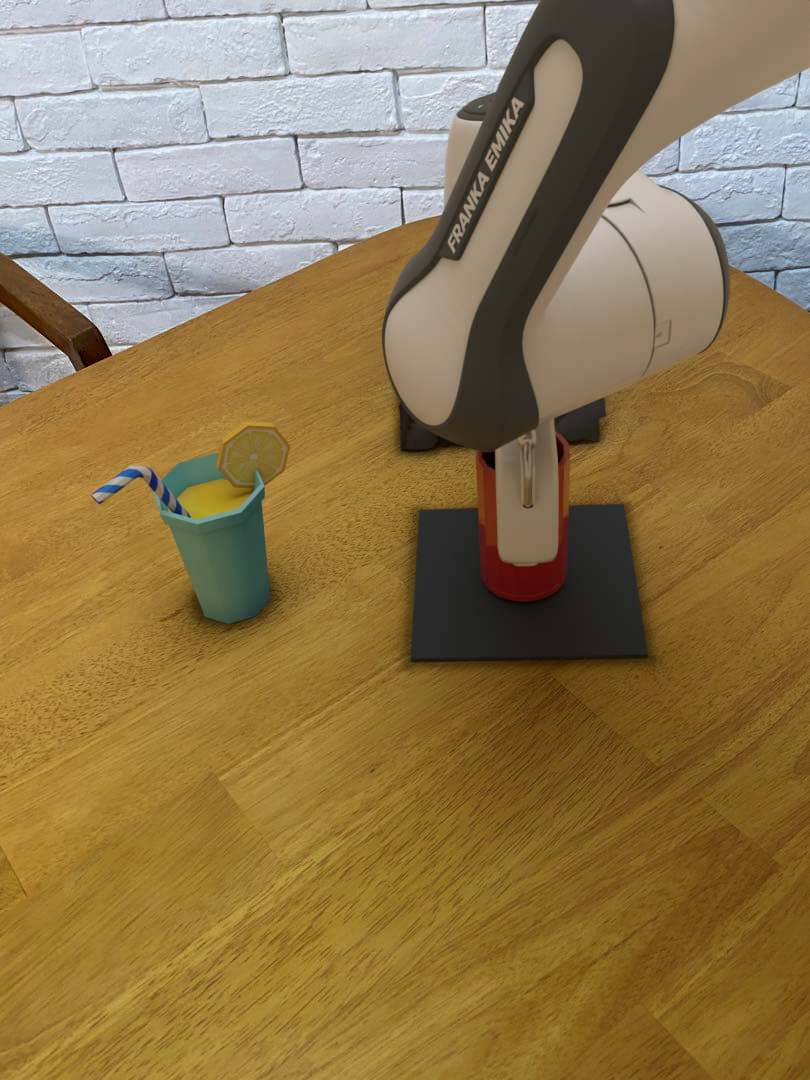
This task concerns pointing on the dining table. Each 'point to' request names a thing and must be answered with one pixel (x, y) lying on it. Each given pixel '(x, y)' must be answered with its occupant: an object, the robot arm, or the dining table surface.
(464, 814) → the dining table surface
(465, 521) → the corner mat
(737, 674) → the dining table surface
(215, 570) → the cup
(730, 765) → the dining table surface
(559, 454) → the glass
